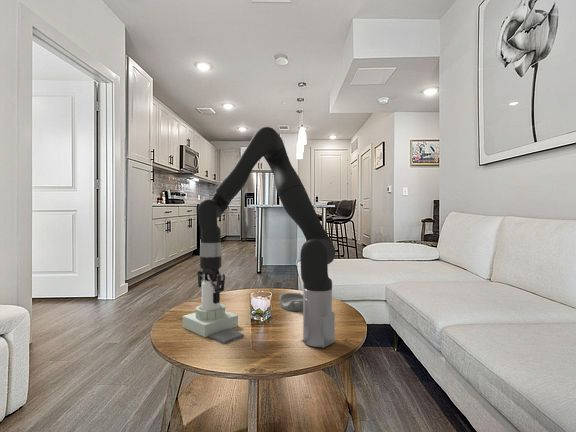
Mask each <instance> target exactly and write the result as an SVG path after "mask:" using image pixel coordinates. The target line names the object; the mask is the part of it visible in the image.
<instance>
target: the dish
mask: <svg viewBox="0 0 576 432" xmlns="http://www.w3.org/2000/svg"><path fill="white" fill-rule="evenodd" d="M279 306H280V308H281V309H284V310H285V311H290V312H303V294H302V293H301V292H286V293H282V294H280V295H279Z"/></svg>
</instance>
